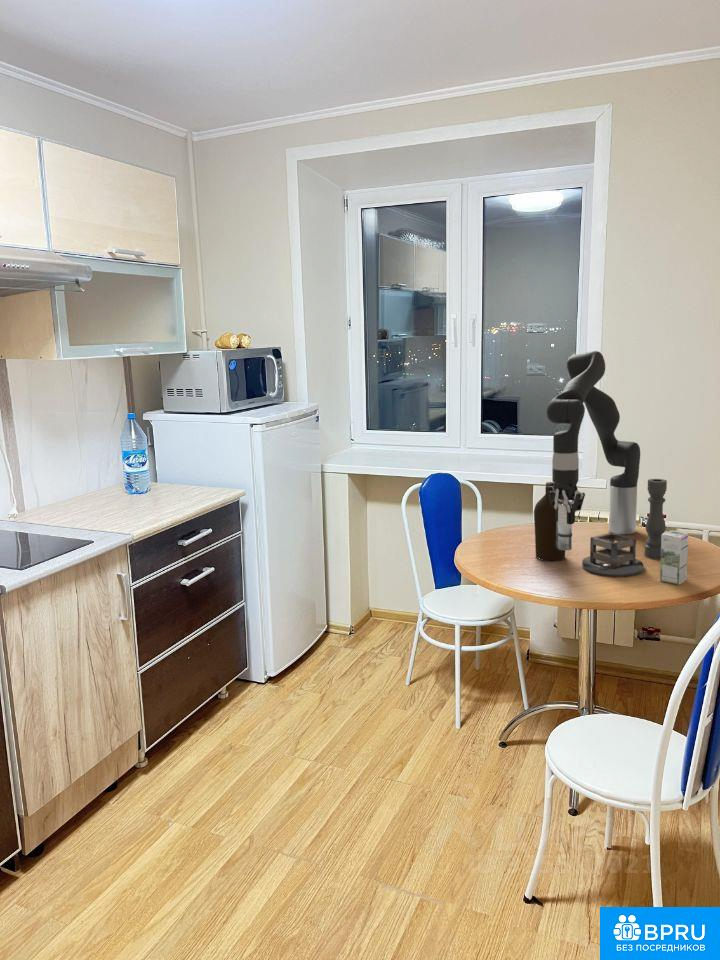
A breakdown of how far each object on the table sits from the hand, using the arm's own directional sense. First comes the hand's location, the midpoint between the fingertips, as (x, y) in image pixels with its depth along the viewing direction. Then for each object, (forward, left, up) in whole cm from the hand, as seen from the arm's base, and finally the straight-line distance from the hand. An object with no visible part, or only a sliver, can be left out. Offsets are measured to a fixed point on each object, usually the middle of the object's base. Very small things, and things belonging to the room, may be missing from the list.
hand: (565, 522), depth 216 cm
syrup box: (+10, +29, -17) cm, 35 cm away
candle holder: (-14, +33, -17) cm, 39 cm away
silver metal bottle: (0, 0, -8) cm, 8 cm away
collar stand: (-4, +16, -16) cm, 23 cm away
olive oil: (-17, 0, -17) cm, 24 cm away
